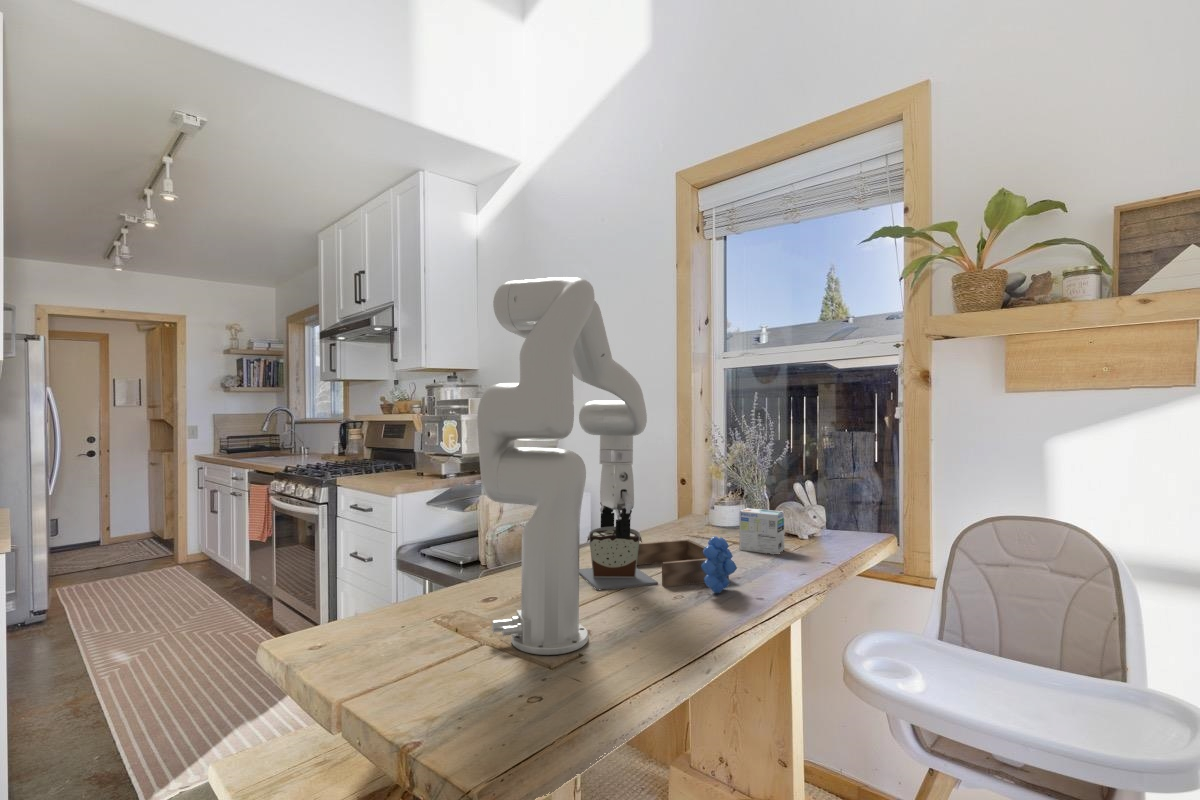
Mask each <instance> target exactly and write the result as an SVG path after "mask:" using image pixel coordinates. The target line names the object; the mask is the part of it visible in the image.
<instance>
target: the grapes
mask: <svg viewBox="0 0 1200 800" xmlns="http://www.w3.org/2000/svg"><path fill="white" fill-rule="evenodd" d="M707 544H708V545H707V546H704V547H705V548H704V550H703V553H704V556H705V557H706V558H707V559H708V560H706V561H704V562H703V563H702V565H701V567H702V570H703V571H704V573H705V574H707V575H706V576H705V578H704V582H705V583H704V584H705V586H707V587H708V588H709V589H711V591H712V592H713V593H714V594H720V593H721V592H723V590H724V589H726V588H727V587H728V586H729V585H730V584H731V582H730V579H729V580H728V578H727V576H729V577H730V575H732V574H734V573H735V571H737V569H738V566H737V564H736V563H735V561H734V560H732V558H733V557H734V556H733V554H732V552H731V550H730V549H729V547H730V546H729V543H728V542H727V540H726V539H725V538H723V537H718V536H712V537H711V538H709V540H708V542H707Z"/></svg>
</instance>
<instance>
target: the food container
mask: <svg viewBox="0 0 1200 800" xmlns="http://www.w3.org/2000/svg"><path fill="white" fill-rule="evenodd" d="M600 527H601V526H600ZM600 527H597V528H594V529H592V530H590V531H589V532H588V536H587V539H586V543H588V542H589V548H590V557H591V558H590V559H591V568H592V570H593V578H635V575H636V568H637V566H638V565H637V558H638V550H639V543H643V540H642V535H641V534H640V533H641V532H639V531H638V530H636V529H634V528H631V527H630V538H620V539H617V538H616V526H614V527H601V528H600Z"/></svg>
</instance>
